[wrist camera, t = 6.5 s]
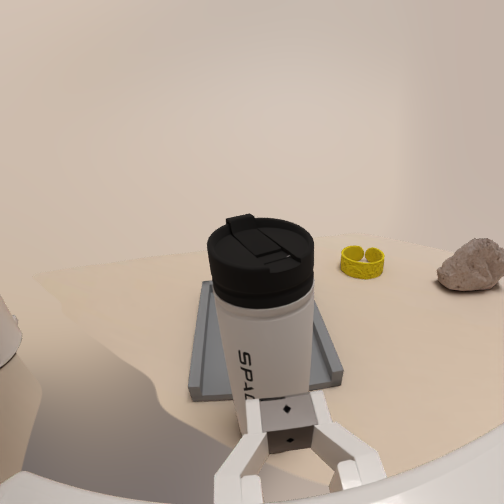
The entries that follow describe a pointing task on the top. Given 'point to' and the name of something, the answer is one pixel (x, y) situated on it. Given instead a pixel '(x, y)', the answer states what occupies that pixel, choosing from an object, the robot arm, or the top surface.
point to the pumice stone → (473, 266)
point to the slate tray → (214, 365)
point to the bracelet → (359, 268)
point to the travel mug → (263, 306)
